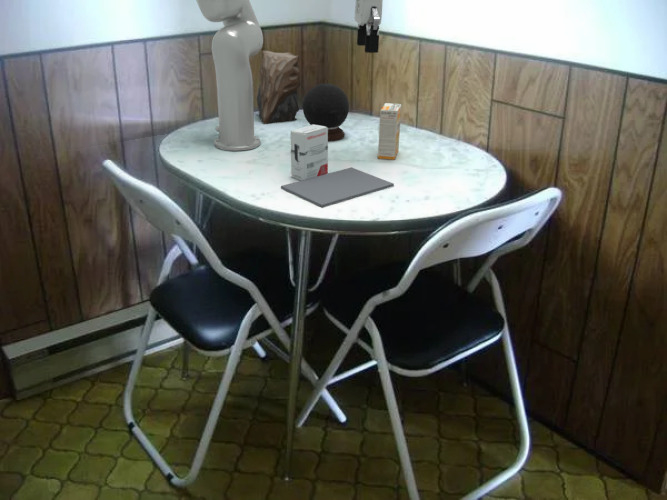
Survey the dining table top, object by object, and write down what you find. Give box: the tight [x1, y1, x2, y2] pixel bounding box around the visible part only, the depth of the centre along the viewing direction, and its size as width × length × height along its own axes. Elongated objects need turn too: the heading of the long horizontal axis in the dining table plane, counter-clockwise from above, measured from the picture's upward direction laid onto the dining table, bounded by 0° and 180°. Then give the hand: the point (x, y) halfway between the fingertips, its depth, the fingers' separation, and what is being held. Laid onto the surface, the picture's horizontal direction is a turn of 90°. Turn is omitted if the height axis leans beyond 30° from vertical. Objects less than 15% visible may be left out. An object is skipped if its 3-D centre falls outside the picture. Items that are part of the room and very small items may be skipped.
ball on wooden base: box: [302, 83, 350, 143], centre depth 198 cm, size 13×13×15 cm
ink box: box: [290, 124, 329, 181], centre depth 168 cm, size 8×5×12 cm, turn 139°
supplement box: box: [377, 102, 402, 160], centre depth 183 cm, size 8×5×13 cm, turn 168°
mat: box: [280, 167, 395, 208], centre depth 163 cm, size 15×22×1 cm
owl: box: [256, 50, 301, 125], centre depth 214 cm, size 13×13×20 cm
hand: (367, 48), depth 171 cm, fingers open, 9 cm apart
